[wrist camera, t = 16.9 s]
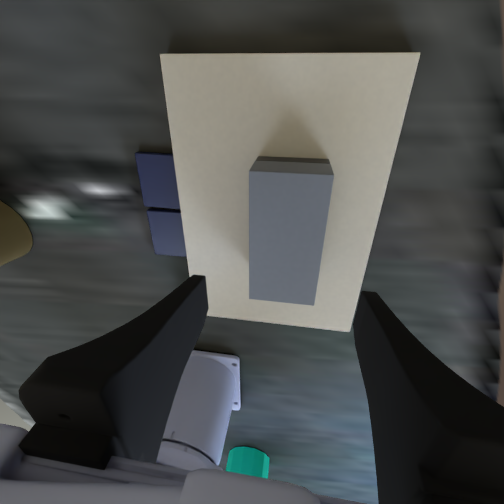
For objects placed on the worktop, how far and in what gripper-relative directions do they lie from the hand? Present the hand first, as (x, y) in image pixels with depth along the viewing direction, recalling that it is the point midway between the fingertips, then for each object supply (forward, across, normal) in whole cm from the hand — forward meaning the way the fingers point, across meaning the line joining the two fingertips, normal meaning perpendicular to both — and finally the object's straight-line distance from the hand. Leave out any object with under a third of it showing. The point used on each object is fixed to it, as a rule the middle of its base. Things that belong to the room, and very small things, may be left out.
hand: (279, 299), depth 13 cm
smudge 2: (+9, +10, -2) cm, 14 cm away
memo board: (+9, +1, 0) cm, 9 cm away
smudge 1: (+9, +10, +2) cm, 14 cm away
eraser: (+8, 0, 0) cm, 8 cm away
